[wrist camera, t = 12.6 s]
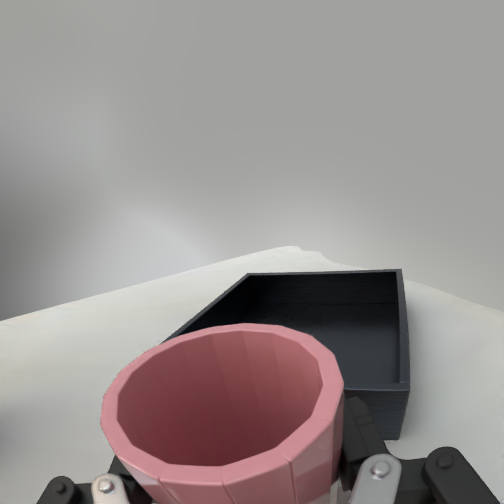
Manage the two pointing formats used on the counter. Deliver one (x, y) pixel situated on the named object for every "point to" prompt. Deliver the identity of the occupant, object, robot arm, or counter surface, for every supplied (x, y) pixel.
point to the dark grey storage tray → (333, 328)
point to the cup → (230, 417)
